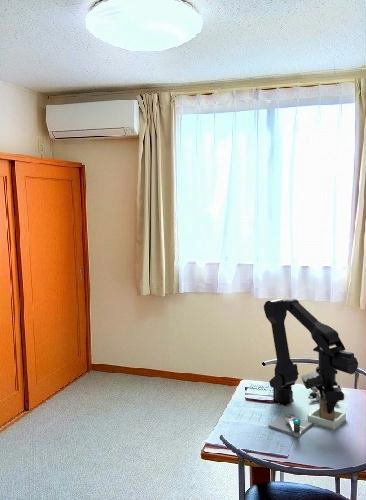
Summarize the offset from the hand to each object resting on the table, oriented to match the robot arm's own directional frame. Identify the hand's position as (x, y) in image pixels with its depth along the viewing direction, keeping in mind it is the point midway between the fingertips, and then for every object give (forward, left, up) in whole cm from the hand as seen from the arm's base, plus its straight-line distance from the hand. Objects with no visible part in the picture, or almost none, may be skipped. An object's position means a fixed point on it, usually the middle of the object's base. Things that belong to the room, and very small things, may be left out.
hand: (326, 409), depth 161 cm
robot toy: (-9, +19, -4) cm, 22 cm away
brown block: (0, 0, -4) cm, 4 cm away
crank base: (-8, -11, -4) cm, 14 cm away
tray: (0, 0, -4) cm, 4 cm away
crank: (-5, -14, -3) cm, 16 cm away
